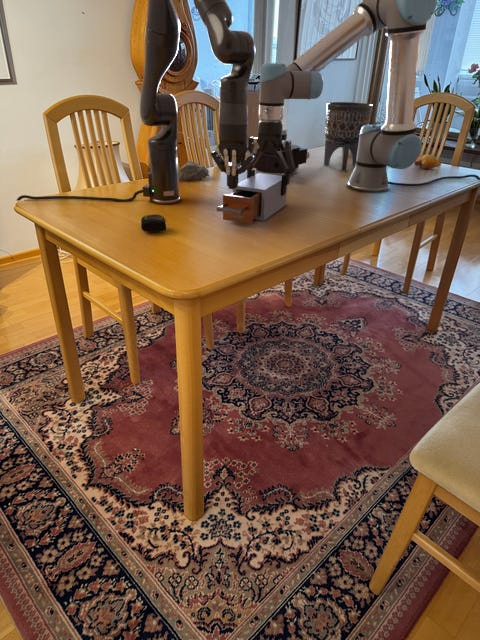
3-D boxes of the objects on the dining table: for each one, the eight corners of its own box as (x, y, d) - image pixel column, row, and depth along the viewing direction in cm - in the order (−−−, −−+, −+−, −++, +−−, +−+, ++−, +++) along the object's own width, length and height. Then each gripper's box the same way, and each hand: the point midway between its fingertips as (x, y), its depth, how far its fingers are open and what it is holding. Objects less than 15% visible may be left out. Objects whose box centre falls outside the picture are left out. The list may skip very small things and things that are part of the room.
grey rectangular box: (263, 220, 139) (264, 189, 134) (232, 215, 143) (232, 185, 138) (285, 205, 155) (287, 176, 150) (257, 200, 158) (258, 173, 154)
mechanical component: (240, 120, 182) (283, 115, 202) (239, 174, 192) (280, 164, 212) (283, 126, 170) (325, 120, 190) (280, 183, 180) (320, 171, 200)
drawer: (242, 230, 128) (243, 204, 125) (213, 224, 132) (213, 199, 128) (274, 208, 147) (275, 185, 143) (248, 204, 151) (248, 181, 147)
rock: (201, 174, 190) (201, 158, 187) (214, 178, 185) (214, 162, 181) (174, 179, 183) (173, 162, 179) (187, 183, 177) (186, 166, 174)
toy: (415, 162, 205) (409, 155, 218) (417, 175, 208) (411, 168, 221) (441, 154, 202) (433, 147, 215) (443, 168, 205) (435, 160, 218)
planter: (313, 167, 208) (319, 103, 195) (331, 160, 222) (338, 101, 209) (353, 173, 199) (362, 107, 185) (369, 166, 213) (379, 104, 199)
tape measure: (141, 234, 126) (140, 221, 124) (142, 226, 132) (141, 214, 130) (166, 233, 127) (165, 220, 125) (166, 225, 133) (165, 213, 131)
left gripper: (204, 121, 117) (205, 188, 126) (250, 124, 113) (248, 194, 121) (217, 118, 123) (217, 182, 132) (262, 121, 118) (259, 188, 127)
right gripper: (231, 119, 141) (231, 190, 152) (302, 124, 132) (296, 199, 144) (242, 116, 147) (240, 185, 158) (310, 122, 138) (303, 194, 149)
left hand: (232, 188), depth 127 cm, fingers closed
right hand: (267, 192), depth 151 cm, fingers closed on grey rectangular box, 11 cm apart
